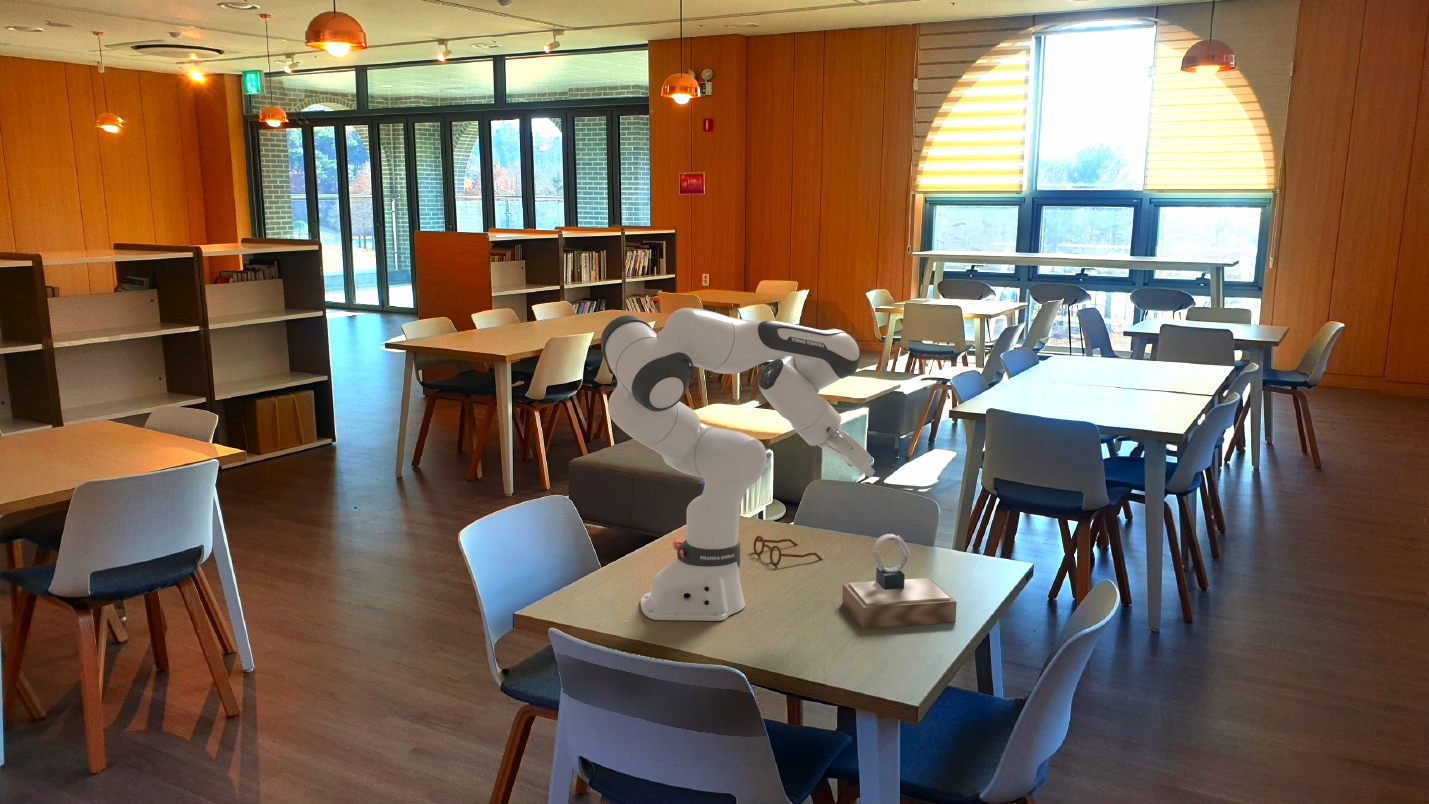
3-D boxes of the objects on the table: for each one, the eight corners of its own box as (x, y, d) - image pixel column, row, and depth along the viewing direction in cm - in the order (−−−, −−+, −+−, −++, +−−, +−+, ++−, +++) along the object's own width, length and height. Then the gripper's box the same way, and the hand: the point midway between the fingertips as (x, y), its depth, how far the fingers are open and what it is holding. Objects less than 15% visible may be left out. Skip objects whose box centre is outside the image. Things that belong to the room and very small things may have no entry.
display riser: (863, 628, 207) (863, 605, 206) (842, 603, 220) (842, 581, 219) (955, 622, 210) (956, 599, 209) (929, 597, 224) (930, 576, 223)
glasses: (752, 553, 255) (752, 534, 254) (797, 546, 261) (797, 527, 260) (777, 569, 243) (778, 549, 242) (824, 561, 249) (824, 542, 248)
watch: (912, 588, 216) (914, 538, 214) (876, 590, 214) (878, 540, 212) (903, 579, 221) (905, 530, 219) (868, 581, 220) (869, 532, 218)
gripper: (850, 422, 199) (893, 469, 203) (812, 405, 218) (852, 448, 222) (828, 446, 198) (872, 492, 202) (792, 426, 217) (833, 469, 222)
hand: (861, 469), depth 212 cm, fingers open, 8 cm apart
